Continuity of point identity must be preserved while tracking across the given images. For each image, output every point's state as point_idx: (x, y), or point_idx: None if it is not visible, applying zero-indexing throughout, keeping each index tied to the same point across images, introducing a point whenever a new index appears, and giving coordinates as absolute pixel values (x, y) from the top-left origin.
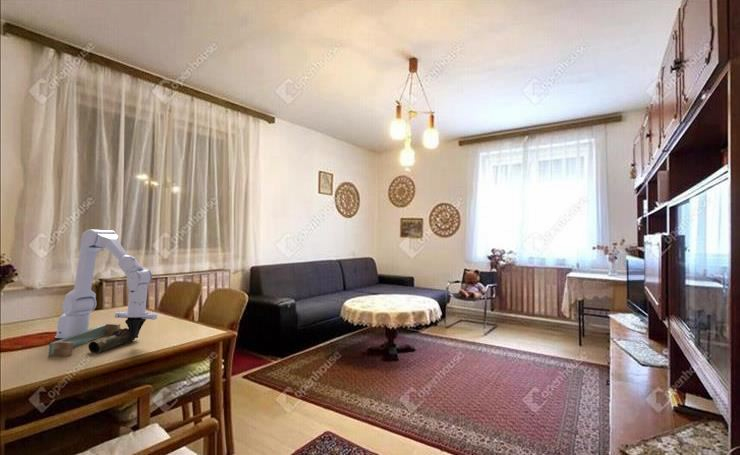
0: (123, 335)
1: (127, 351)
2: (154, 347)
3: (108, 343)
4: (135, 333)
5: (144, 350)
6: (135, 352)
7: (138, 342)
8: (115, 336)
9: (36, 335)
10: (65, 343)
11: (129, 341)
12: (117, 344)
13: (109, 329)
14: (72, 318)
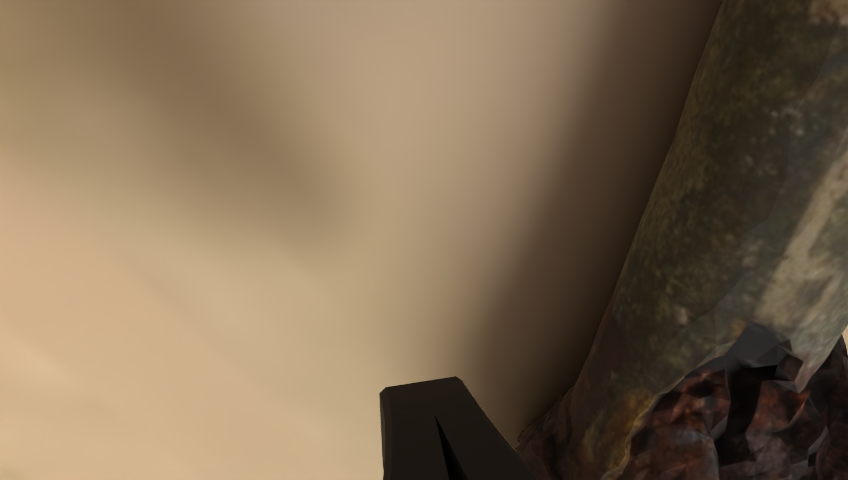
0: (663, 429)
1: (310, 46)
2: (6, 366)
3: (769, 39)
4: (385, 476)
5: (31, 183)
6: (101, 23)
7: None
8: (769, 313)
9: None
10: None
11: (545, 415)
12: (637, 232)
13: None
14: None
